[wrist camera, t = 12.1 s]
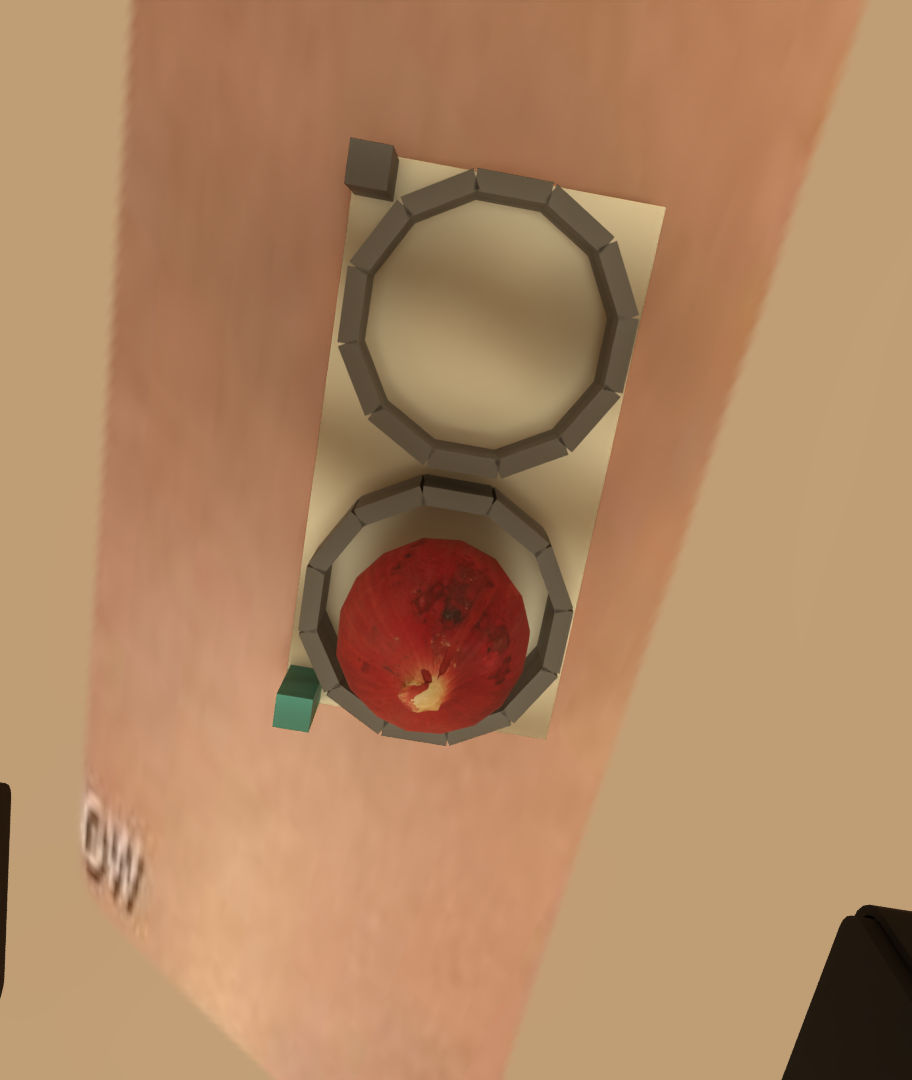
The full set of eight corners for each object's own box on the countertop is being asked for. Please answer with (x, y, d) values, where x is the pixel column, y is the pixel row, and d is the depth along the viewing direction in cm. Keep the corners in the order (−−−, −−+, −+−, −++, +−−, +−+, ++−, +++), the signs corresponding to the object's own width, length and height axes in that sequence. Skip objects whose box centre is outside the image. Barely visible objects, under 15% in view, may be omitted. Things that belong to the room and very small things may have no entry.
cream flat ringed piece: (363, 157, 27) (347, 132, 23) (655, 212, 28) (685, 197, 24) (291, 679, 32) (269, 728, 28) (542, 720, 32) (553, 774, 29)
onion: (401, 484, 28) (378, 548, 21) (550, 562, 29) (583, 651, 21) (325, 628, 30) (278, 739, 22) (470, 699, 30) (473, 831, 23)
